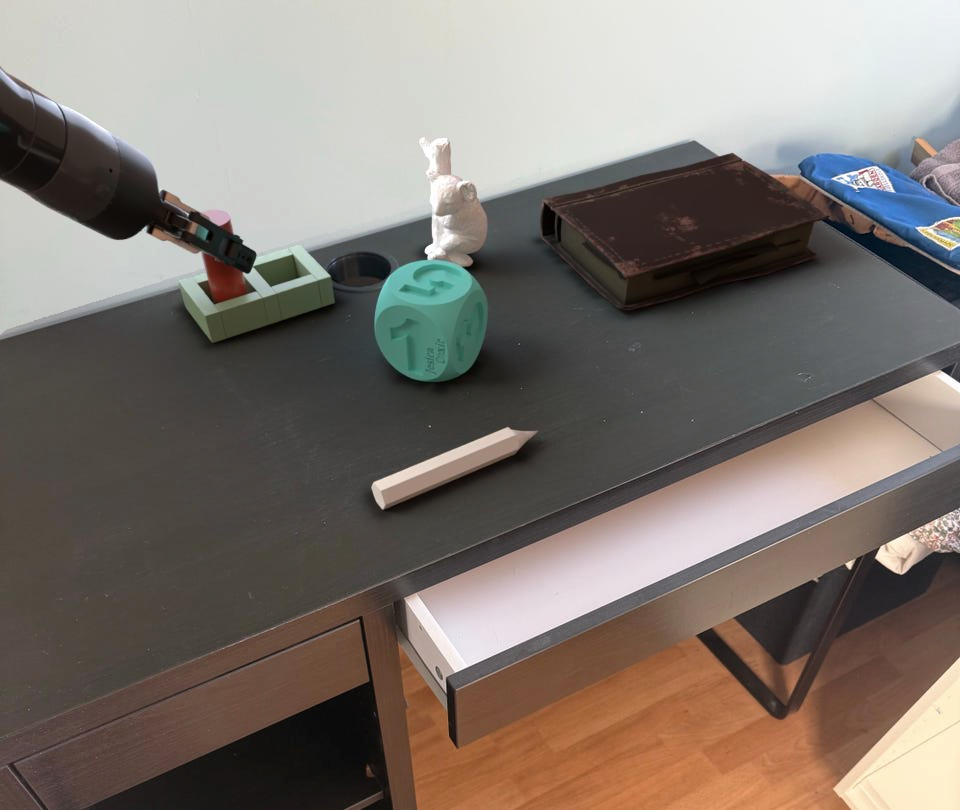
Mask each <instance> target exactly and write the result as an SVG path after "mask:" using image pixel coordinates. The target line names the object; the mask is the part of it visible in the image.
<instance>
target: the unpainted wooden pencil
mask: <svg viewBox="0 0 960 810" xmlns="http://www.w3.org/2000/svg"><path fill="white" fill-rule="evenodd" d="M538 432H539V430H518V429H511V427H509V426H506V427H505V428H502V429H500V430H497V431H495V432H492V433H489V434H487V435H485V436H483V437H480V438H478V439H475V440H474V441H470V442H468V443H466V444H463V445H461V446H458V447H456V448H453V449H450V450H448V451H446V452H443V453H441V454H439V455H436V456H434V457H431V458H428V459H426V460H424V461H422V462H419V463H416V464H414V465H412V466H409V467H407V468H405V469H402V470H400V471H398V472H397V471H396V472H395V473H392V474H390V475H388V476H385V477H383V478H380V479H377V480H375V481H373V482H372V485H371V488H370V489H371V491H372V494H373V497H374V500H375V502H376V504H377V505H378V506H379V507H380V509H381V510H383V511H384V510H386V509H389V508H391V507H393V506H396V505H398V504H400V503H403V502H405V501H407V500H410V499H412V498H415V497H417V496H420V495H422V494H425V493H426V492H428V491H431V490H433V489H436V488H438V487H441V486H443V485H445V484H447V483H450V482H453V481H454V480H455V481H456V480H457V479H459V478H461V477H465V476H466V475H469V474H471V473H474V472H476V471H478V470H480V469H483V468H485V467H488V466H490V465H493V464H494V463H495V464H496V463H498V462H500V461H502V460H505V459H506V458H509V457H511V456H514V455H516V454H517V452H518V451H519V450H520V449H521V448H522V447H523V446H524V445H525V444H526V443H527V442H528V441H529V440H530V439H531V438H532V437H534V436H535V435H536V434H537V433H538Z"/></svg>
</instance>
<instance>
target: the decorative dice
mask: <svg viewBox="0 0 960 810" xmlns="http://www.w3.org/2000/svg"><path fill="white" fill-rule="evenodd" d="M376 301H377V302H376V306H375V311H374V322H373V327H374V336H375V340H376V343H377V346H378V347H379V350H380V352H381V354H382V355H383V357H384V358H385V360H386V361H387V362H388V363H389V364H390V365H391V366H392V367H393V368H394V369H395V370H396V371H398V372H399V373H401V375H404V376H406V377H408V378H410V379H413V380H415V381H419V382H424V383H425V382H426V383H440V382H446V381H450V380H453V379H455V378H458V377H460V376H461V375H463V374H465V373H466V372H467V371H469V370H470V368H472V366H473V365H474V363H475V362H476V360H477V358H478V356H479V354H480V351H481V350H482V349H481V348H482V346H483V343H484V340H485V336H486V332H487V326H488V319H489V304H488V299H487V296H486V294H485V292H484V290H483V287H481V285H480V283H479V282H478V280H476V278H475V277H474V276H473V275H472V274H471V273H470V272H469V271H468V270H467V269H465V267H461V266H459V265H457V264H454V263H451V262H447V261H441V260H428V259H423V260H422V259H421V260H417V261H412V262H409V263H406V264H403V265H402V266H400V267H398V268H396V269H395V270H394V271H392V273H391V274H390V275H389V276H388V277H387V278H386V280H385V282H384V283H383V285H382V288H381V290H380V293H379V295H378V298H377V300H376Z"/></svg>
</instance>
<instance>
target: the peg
mask: <svg viewBox="0 0 960 810" xmlns="http://www.w3.org/2000/svg"><path fill="white" fill-rule="evenodd" d="M200 212H201V213H203V214H204V215H206V216H208V217H209V218H210V221H211V222H213V223H215V224H216V225H218V226H220V227H222V228H223V229H225V230H227V231H228V232H230V233H232V234H234V235H235V234H236V233H235V230H234V226H233V221H232V217H231V215H230V213H229V212H227V210H226V211H225V210H224V209H217V208H216V209H206V210H203V211H200ZM200 255H201V259H202V262H203V267H204V270H205V273H206V275H207V278H208V282H209V286H210V290H211V294H212V298H213V302H214V305H215V304H218V303H221V302H224V301H227V300H230V299H234V298H237V297H240V296H243V295H246V294H248V292H247V288H246V284H245V279H244V275H243V272H242V271H240V270H238V269H236V268H234V267H232V266H228V265H226V264H224V262H222V261H221V262H218V261H216V260H215V259H216V258H214V257H212V256H210V255H208V254H206V253H204V252H202V251H200Z"/></svg>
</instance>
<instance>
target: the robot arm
mask: <svg viewBox="0 0 960 810" xmlns="http://www.w3.org/2000/svg"><path fill="white" fill-rule="evenodd" d="M156 171H157V170H156V168H155V166H154V165H153V163H152V161H151V160H150V159H149V157H147V155H145V154H144V153H143V152H142V151H140V150H138V148H135V147H134V146H132V145H131V144H129V143H128V142H126V141H124V140H123V139H121V138H119V137H118V136H116V135H115V134H114V133H111V132H110V131H108V130H107V129H105V128H103V127H102V126H100V125H98V124H97V123H95V122H94V121H92V120H90V119H89V118H88V117H86V116H84V115H82V114H81V113H79V112H77V111H75V110H74V109H71V108H70V107H67V106H65V105H62V104H60V103H58V102H56V101H54V100H53V99H51V98H49V97H48V96H46V95H45V94H43V93H42V92H40V91H39V90H36V89H35V88H34V87H32V86H30V85H29V84H27V83H26V82H24V81H22V80H21V79H19V78H17V77H15V76H14V75H13V74H10V73H8V72H6V70H4V69H3V68H2V66H0V181H1V182H3V183H4V184H7V185H9V186H11V187H12V188H15V189H17V190H19V191H20V192H22V193H24V194H25V195H27V196H28V197H30V198H31V199H32V200H34V201H36V202H37V203H38V204H40V205H42V206H44V207H45V208H47V209H49V210H51V211H54V212H55V213H57V214H60V215H62V216H63V217H65V218H67V219H69V220H72V221H74V222H75V223H77V224H80V225H81V226H84V227H86V228H88V229H90V230H92V231H94V232H96V233H98V234H100V235H101V236H103V237H106V238H107V239H110V240H114V241H124V240H125V241H126V240H128V239H131V238H133V237H135V236H136V235H138V234H139V233H141V232H145V234H147V235H149V236H151V237H153V238H155V239H157V240H159V241H162V242H166V241H168V242H169V243H171V244H173V245H175V246H177V247H179V248H181V249H183V250H185V251H187V252H189V253H191V254H195V255H196V254H197V255H198V254H199V253H201V251H202V252H204V253H206V254H208V255H210V256H212V257H214V258H216V259H215V260H216V261H218V262H221V261H222V262H224V264H226V265H228V266H232V267H234V268H236V269H238V270H240V271H242V272H244V273H246V274H249V273H250V272H251V270H252V267H253V265H254V262H255V260H256V257H258V256H257V252H256V251H255V250H254V249H252V248H251V247H249V246H247V245H245V244H243V243H244V241H245V240H244V239H242V238H241V236H240V235H239V234H236V233H234V234H235V235H234V234H232V233H230V232H228V231H227V230H225V229H223V228H222V227H220V226H218V225H216V224H215V223H213V222H211V221H210V218H209V217H208V216H206V215H204V214H203V213H201V212H202V211H199V210H196V209H195V208H193V207H191V206H190V205H187V204H186V203H183V202H182V201H181V199H180V198H179V197H178V196H177V195H175V194H173V193H171V192H169V191H167V190H165V189H163V188H160V186H159V180H158V175H157V172H156Z"/></svg>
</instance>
